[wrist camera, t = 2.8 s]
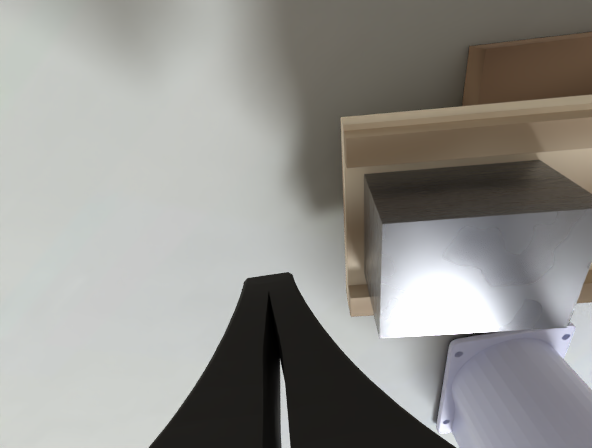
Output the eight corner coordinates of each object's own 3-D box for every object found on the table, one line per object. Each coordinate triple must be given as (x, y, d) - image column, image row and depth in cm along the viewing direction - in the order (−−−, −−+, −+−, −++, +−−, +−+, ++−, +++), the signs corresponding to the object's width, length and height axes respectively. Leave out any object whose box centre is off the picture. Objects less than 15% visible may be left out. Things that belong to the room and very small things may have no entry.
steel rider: (514, 263, 15) (567, 327, 12) (364, 273, 15) (379, 338, 12) (539, 159, 13) (612, 207, 10) (363, 174, 13) (382, 224, 10)
